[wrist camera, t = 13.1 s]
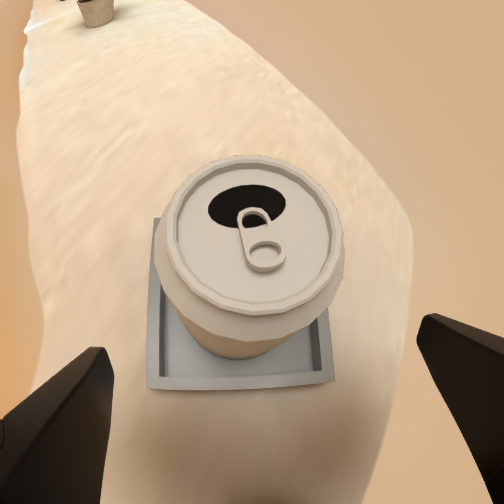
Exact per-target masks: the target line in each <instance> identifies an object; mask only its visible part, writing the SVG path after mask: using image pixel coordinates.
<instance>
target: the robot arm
mask: <svg viewBox="0 0 504 504" xmlns="http://www.w3.org/2000/svg"><path fill="white" fill-rule="evenodd" d="M417 345H418V347H419V350H420V351H421V354H422V356H423V358H424V360H425V362H426V365H427V367H428V369H429V371H430V373H431V376H432V378H433V380H434V382H435V384H436V386H437V388H438V390H439V392H440V393H441V395H442V397H443V399H444V401H445V402H446V404H447V406H448V408H449V410H450V411H451V414H452V416H453V417H454V419H455V421H456V423H457V425H458V427H459V429H460V431H461V433H462V435H463V437H464V439H465V441H466V443H467V445H468V447H469V449H470V451H471V453H472V456H473V458H474V460H475V462H476V464H477V466H478V468H479V471H480V473H481V475H482V478H483V480H484V481H485V484H486V487H487V490H488V492H489V494H490V497H491V499H492V502H493V504H504V338H502V337H500V336H497V335H494V334H491V333H489V332H486V331H483V330H481V329H478V328H475V327H472V326H470V325H467V324H464V323H461V322H459V321H456V320H453V319H451V318H447V317H445V316H442V315H440V314H437V313H433V314H428V315H425V316H424V317H423V319H422V322H421V325H420V328H419V331H418V335H417ZM113 386H114V372H113V368H112V365H111V363H110V360H109V357H108V354H107V351H106V349H105V348H103V347H89V348H88V349H87V350H85V351H84V352H83V353H81V354H80V355H79V356H78V357H76V358H75V359H74V360H73V361H71V362H70V363H69V364H68V365H66V366H65V367H64V368H63V369H61V370H60V371H59V372H58V373H56V374H55V375H54V376H53V377H52V378H50V379H49V380H48V381H47V382H45V383H44V384H43V385H42V386H40V387H39V388H38V389H37V390H36V391H34V392H33V393H32V394H31V395H29V396H28V397H27V398H26V399H25V400H23V401H22V402H21V403H20V404H19V405H17V406H16V407H15V408H14V409H13V410H11V411H10V412H9V413H8V414H6V415H5V416H4V417H3V419H0V504H100V497H101V488H102V480H103V472H104V465H105V458H106V452H107V445H108V439H109V433H110V426H111V412H112V398H113Z"/></svg>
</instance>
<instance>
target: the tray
mask: <svg viewBox="0 0 504 504" xmlns="http://www.w3.org/2000/svg"><path fill="white" fill-rule="evenodd" d="M160 219H161V218H154V226H153V236H152V247H151V259H150V272H149V288H148V308H147V344H146V377H147V389H164V390H241V389H261V388H275V387H288V386H298V385H308V384H317V383H325V382H333V381H335V376H334V364H333V353H332V343H331V333H330V323H329V315H328V307H327V308H326V309H325V310H324V311H323V312H322V313H321V314H320V315H319V316H318V317H317V318H316V319H315V320H314V321H313V322H312V323H311V324H310V325H308V326H307V327H305V328H304V329H302V330H301V331H299V332H298V333H296V334H295V335H293V336H292V337H290V338H289V339H287V340H286V341H284V342H283V343H281V344H280V345H278V346H276V347H275V348H273V349H272V350H270V351H268V352H266V353H264V354H261V355H259V356H257V357H255V358H251V359H240V360H232V359H228V358H224V357H219V356H216V355H214V354H213V353H211V352H209V351H208V350H206V349H204V348H203V347H201V346H200V345H199V344H198V343H197V341H196V340H195V339H194V338H193V337H192V335H191V334H190V333H189V332H188V330H187V329H186V327H185V325H184V324H183V322H182V320H181V319H180V317H179V315H178V314H177V312H176V311H175V309H174V307H173V306H172V304H171V302H170V300H169V299H168V297H167V295H166V294H165V292H164V290H163V287H162V284H161V281H160V278H159V275H158V272H157V269H156V266H155V263H154V246H155V232H156V230H157V227H158V224H159V222H160Z"/></svg>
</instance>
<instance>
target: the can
mask: <svg viewBox="0 0 504 504" xmlns="http://www.w3.org/2000/svg"><path fill="white" fill-rule="evenodd" d="M344 259H345V248H344V244H343V230H342V226H341V222H340V218H339V214H338V210H337V208H336V206H335V205H334V203H333V202H332V200H331V198H330V197H329V195H328V194H327V192H326V190H325V189H324V188H323V187H322V186H321V185H320V184H319V183H318V182H317V181H315V180H314V179H313V178H312V177H311V176H310V175H309V174H308V173H306V172H305V171H303V170H301V169H299V168H297V167H295V166H293V165H291V164H290V163H288V162H286V161H283V160H279V159H275V158H271V157H266V156H262V155H234V156H231V157H227V158H223V159H220V160H216V161H213V162H210V163H209V164H207V165H205V166H204V167H202V168H200V169H199V170H197V171H196V172H194V173H192V174H191V175H190V176H189V177H188V178H187V179H186V180H185V181H184V182H183V184H182V185H181V186H180V187H179V188H178V189H177V190H176V192H175V193H174V195H173V197H172V200H171V202H170V203H169V204H168V205H167V206H166V208H165V209H164V212H163V214H162V217H161V219H160V222H159V224H158V227H157V230H156V232H155V246H154V263H155V266H156V269H157V272H158V275H159V278H160V281H161V284H162V287H163V290H164V292H165V294H166V295H167V297H168V299H169V300H170V302H171V304H172V306H173V307H174V309H175V311H176V312H177V314H178V315H179V317H180V319H181V320H182V322H183V324H184V325H185V327H186V329H187V330H188V332H189V333H190V334H191V335H192V337H193V338H194V339H195V340H196V341H197V343H198V344H199V345H200V346H201V347H203V348H204V349H206V350H208V351H209V352H211V353H213V354H214V355H216V356H219V357H224V358H228V359H232V360H240V359H251V358H255V357H257V356H259V355H261V354H264V353H266V352H268V351H270V350H272V349H273V348H275V347H276V346H278V345H280V344H281V343H283V342H284V341H286V340H287V339H289V338H290V337H292V336H293V335H295V334H296V333H298V332H299V331H301V330H302V329H304V328H305V327H307V326H308V325H310V324H311V323H312V322H313V321H314V320H315V319H316V318H317V317H318V316H319V315H320V314H321V313H322V312H323V311H324V310H325V309H326V308H327V307H328V306H329V305H330V304H331V302H332V300H333V298H334V296H335V293H336V291H337V289H338V287H339V285H340V283H341V281H342V278H343V270H344Z"/></svg>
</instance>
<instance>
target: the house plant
mask: <svg viewBox="0 0 504 504" xmlns="http://www.w3.org/2000/svg"><path fill="white" fill-rule="evenodd" d="M113 3H114V0H78V1H77V4H78V6H79V9H80V11H81V13H82V15H83V18H84V20H85V22H86V25H87V27H88V28H94V27H99V26H102V25H104V24H107V23H109V22H110V21H111V20H112V19H113Z"/></svg>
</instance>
